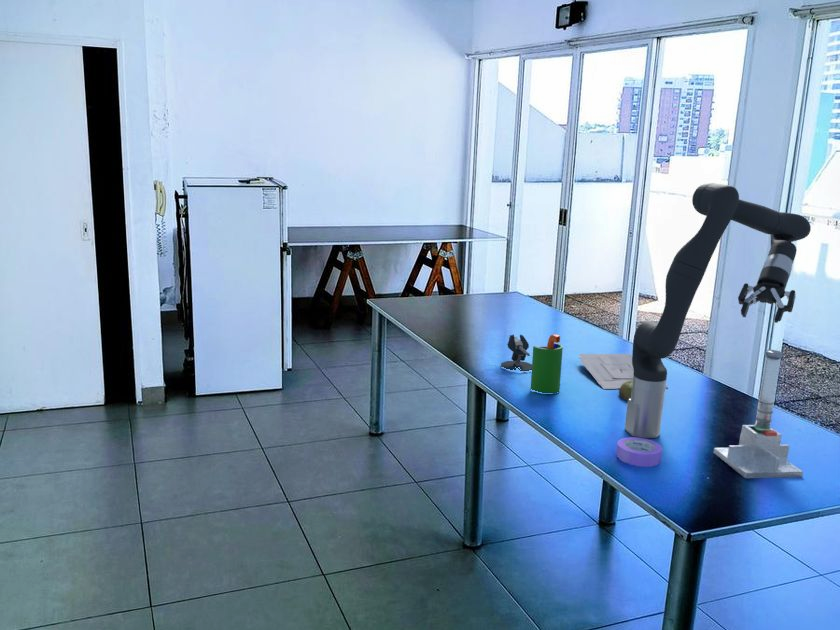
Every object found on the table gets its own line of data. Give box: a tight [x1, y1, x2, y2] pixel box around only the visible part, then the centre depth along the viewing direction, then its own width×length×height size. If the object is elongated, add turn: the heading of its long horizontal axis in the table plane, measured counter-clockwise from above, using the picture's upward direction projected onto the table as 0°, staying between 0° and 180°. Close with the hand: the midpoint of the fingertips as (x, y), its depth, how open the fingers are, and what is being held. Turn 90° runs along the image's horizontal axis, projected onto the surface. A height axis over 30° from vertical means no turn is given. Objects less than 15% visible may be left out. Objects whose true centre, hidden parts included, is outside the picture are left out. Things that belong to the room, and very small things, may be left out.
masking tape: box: [615, 436, 663, 468], centre depth 205 cm, size 12×12×4 cm
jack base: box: [713, 424, 804, 479], centre depth 203 cm, size 17×17×11 cm
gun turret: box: [500, 334, 532, 371], centre depth 276 cm, size 13×20×13 cm, turn 13°
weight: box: [618, 380, 633, 402], centre depth 253 cm, size 14×13×5 cm
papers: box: [578, 353, 669, 390], centre depth 276 cm, size 24×30×4 cm
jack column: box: [753, 349, 783, 434], centre depth 199 cm, size 4×4×23 cm
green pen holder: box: [530, 333, 564, 394], centre depth 255 cm, size 10×9×20 cm
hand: (759, 318), depth 212 cm, fingers open, 8 cm apart
